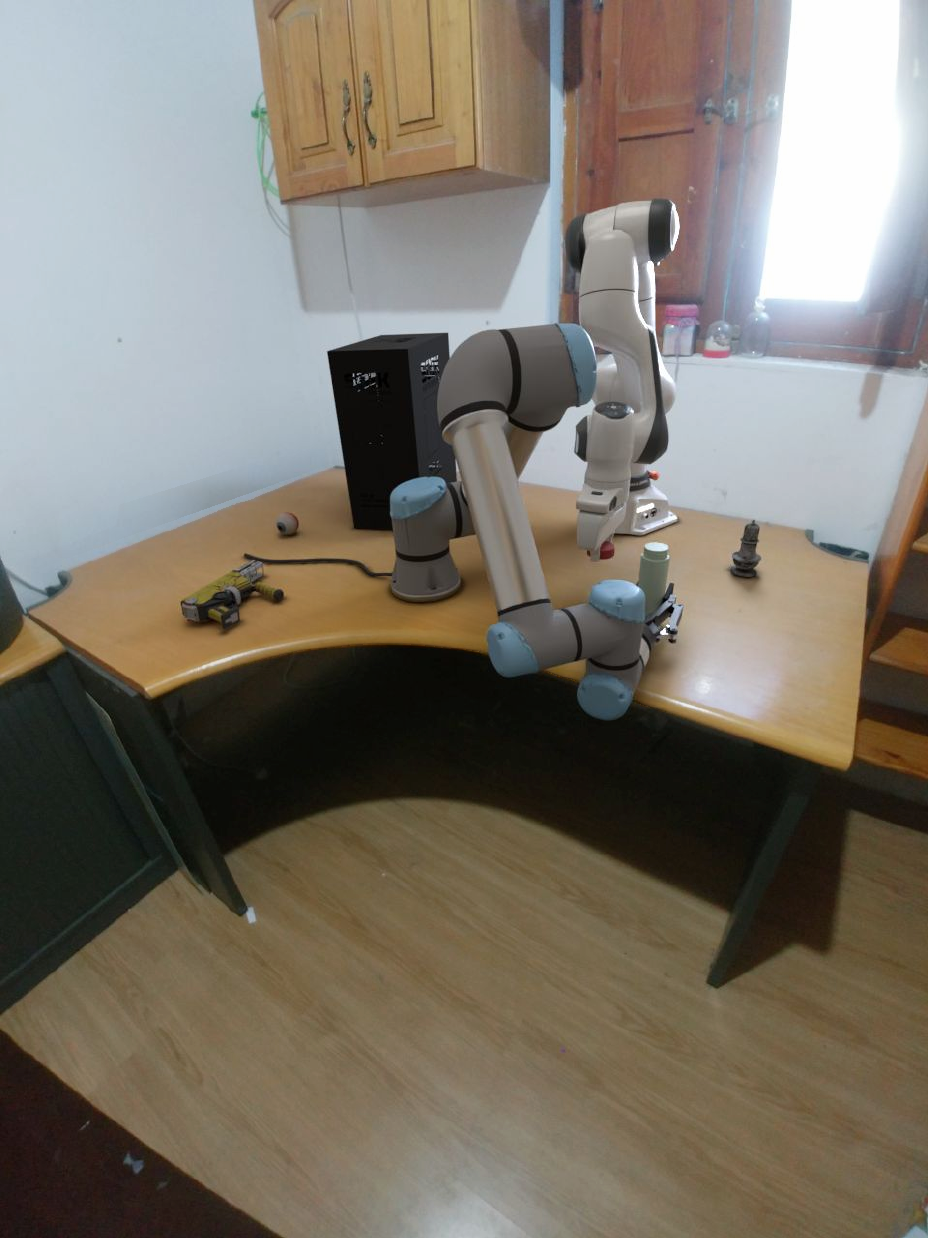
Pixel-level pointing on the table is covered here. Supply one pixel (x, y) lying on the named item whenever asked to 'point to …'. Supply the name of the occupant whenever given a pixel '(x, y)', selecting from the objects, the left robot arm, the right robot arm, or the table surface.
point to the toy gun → (227, 596)
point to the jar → (653, 575)
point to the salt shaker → (747, 552)
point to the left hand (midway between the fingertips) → (655, 587)
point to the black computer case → (389, 419)
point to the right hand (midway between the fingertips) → (600, 555)
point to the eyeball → (287, 523)
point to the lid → (605, 550)
